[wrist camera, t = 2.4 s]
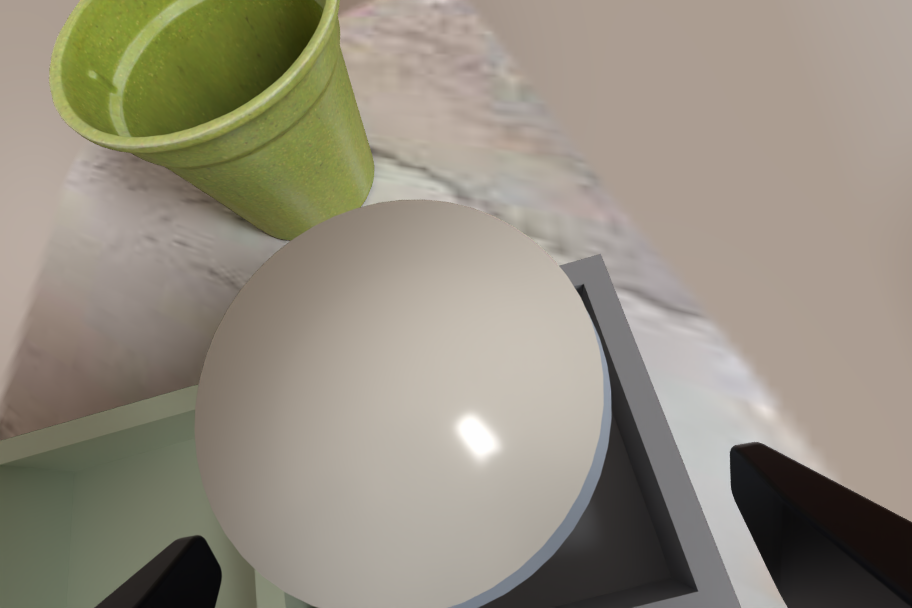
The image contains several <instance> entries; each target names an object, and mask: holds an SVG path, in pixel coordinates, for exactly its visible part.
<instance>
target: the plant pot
mask: <svg viewBox="0 0 912 608" xmlns="http://www.w3.org/2000/svg"><path fill="white" fill-rule="evenodd" d="M339 2H340V0H80V2H79V3H78V4H77V6H76V7H75V9H74V10H73V11H72V13H71V14H70V15H69V17H68V19H67V21H66V23H65V24H64V26H63V28H62V29H61V31H60V33H59V35H58V37H57V39H56V43H55V45H54V48H53V52H52V56H51V64H50V70H49V71H50V76H49V84H50V89H51V93H52V99H53V103H54V106H55V107H56V109H57V111H58V113H59V114H60V116H61V117H62V119H63V120H64V121H65V122H66V123H67V124H68V125H69V126H70V127H71V128H72V129H73V130H75V131H76V132H77V133H79V134H80V135H81V136H82V137H84V138H86V139H87V140H89V141H91V142H93V143H95V144H97V145H100V146H102V147H105V148H108V149H112V150H116V151H121V152H128V153H132V154H134V155H135V156H137V157H139V158H141V159H143V160H145V161H148V162H151V163H154V164H157V165H161V166H164V167H166V168H168V169H169V170H171V171H172V172H174V173H175V174H177V175H178V176H180V177H182V178H183V179H185V180H186V181H188V182H189V183H191V184H192V185H194V186H196V187H197V188H199V189H200V190H202V191H203V192H205V193H206V194H208V195H209V196H211V197H213V198H214V199H216V200H217V201H219V202H220V203H222V204H223V205H225V206H226V207H228V208H229V209H231V210H232V211H233V212H235V213H236V214H238V215H239V216H241V217H242V218H244V219H245V220H247V221H248V222H250V223H251V224H253V225H254V226H256V227H258V228H259V229H261V230H262V231H264V232H265V233H267V234H269V235H271V236H273V237H276V238H279V239H284V240H293V239H294V238H296V237H297V236H299V235H301V234H302V233H304V232H305V231H307V230H309V229H310V228H312V227H313V226H316V225H318V224H320V223H322V222H324V221H326V220H328V219H330V218H332V217H334V216H337V215H339V214H342V213H345V212H348V211H350V210H353V209H356V208H360V207H361V206H362V204H363V203H364V201H365V200H366V198H367V196H368V194H369V191H370V189H371V186H372V183H373V178H374V161H373V157H372V153H371V150H370V146H369V143H368V140H367V136H366V133H365V130H364V126H363V123H362V120H361V117H360V113H359V110H358V107H357V103H356V100H355V96H354V93H353V89H352V86H351V83H350V79H349V76H348V72H347V69H346V65H345V62H344V59H343V55H342V52H341V48H340V26H339V20H338V16H337V15H338V10H339Z"/></svg>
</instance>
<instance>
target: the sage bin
mask: <svg viewBox="0 0 912 608" xmlns="http://www.w3.org/2000/svg"><path fill="white" fill-rule="evenodd" d="M198 385H199V384H197V385H194V386H190V387H187V388H183V389H180V390H176V391H173V392H169V393H166V394H162V395H159V396H155V397H152V398H148V399H145V400H141V401H138V402H134V403H131V404H127V405H124V406H120V407H117V408H113V409H110V410H106V411H103V412H99V413H96V414H92V415H89V416H85V417H82V418H78V419H75V420H71V421H68V422H64V423H61V424H57V425H54V426H50V427H47V428H43V429H40V430H36V431H33V432H29V433H26V434H22V435H19V436H15V437H12V438H8V439H5V440H1V441H0V608H94V607H96V606H97V605H98V604H99V603H100V602H101V601H103V600H104V599H105V598H106V597H107V596H109V595H110V594H111V593H112V592H113V591H115V590H116V589H117V588H118V587H119V586H121V585H122V584H123V583H124V582H125V581H127V580H128V579H129V578H130V577H131V576H133V575H134V574H135V573H136V572H137V571H139V570H140V569H141V568H142V567H143V566H145V565H146V564H147V563H148V562H149V561H151V560H152V559H153V558H154V557H155V556H157V555H158V554H159V553H160V552H161V551H162V550H164V549H165V548H166V547H167V546H168V545H170V544H171V543H172V542H173V541H175V540H176V539H179V538H182V537H188V536H194V535H201V536H202V537H204V538H205V539H206V541H207V543H208V545H209V546H210V548H211V550H212V552H213V554H214V555H215V557H216V559H217V561H218V563H219V565H220V567H221V571H222V581H221V586H220V590H219V594H218V598H217V602H216V606H215V608H318V607H315V606H312V605H310V604H308V603H306V602H304V601H302V600H300V599H297V598H295V597H293V596H291V595H289V594H287V593H285V592H284V591H283V590H281V589H280V588H278V587H277V586H276V585H274V584H273V583H271V582H270V581H269V580H267V579H266V578H264V577H263V576H262V575H261V574H260V573H259V572H258V571H257V570H256V569H255V568H253V567H252V566H251V565H250V564H249V563H248V562H247V561H246V560H245V559H244V558H243V557H242V556H241V554H240V553H239V552H238V550H237V549H236V548H235V546H234V545H233V544H232V542H231V541H230V540H229V538H228V537H227V536H226V534H225V533H224V531H223V529H222V527H221V525H220V523H219V522H218V520H217V518H216V516H215V514H214V512H213V511H212V508H211V505H210V503H209V500H208V497H207V495H206V492H205V489H204V487H203V483H202V479H201V475H200V470H199V466H198V461H197V454H196V444H195V405H196V399H197V392H198Z"/></svg>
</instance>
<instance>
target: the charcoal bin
mask: <svg viewBox="0 0 912 608" xmlns="http://www.w3.org/2000/svg"><path fill="white" fill-rule="evenodd" d="M559 267H560V268H561V269H562V270H563V271H564V273H565V274H566V275H567V276H568V278H569V280H570V281H571V283H572V284H573V286H574V288H575V289H576V291H577V292H578V294H579V296H580V297H581V299H582V301H583V304H584V306H585V308H586V310H587V312H588V313H589V315H590V318H591V320H592V322H593V324H594V327H595V329H596V331H597V333H598V336H599V338H600V341H601V345H602V348H603V351H604V355H605V358H606V362H607V367H608V373H609V380H610V387H611V426H610V434H609V442H608V449H607V452H606V456H605V460H604V464H603V467H602V471H601V475H600V478H599V480H598V482H597V485H596V487H595V490H594V492H593V494H592V497H591V499H590V502H589V504H588V506H587V507H586V509H585V511H584V512H583V514H582V516H581V517H580V519H579V521H578V523H577V524H576V526H575V528H574V529H573V531H572V532H571V533H570V535H569V536H568V537H567V538H566V540H565V541H564V542H563V543H562V545H561V546H560V547H559V548H558V550H557V551H556V552H555V553H554V555H553V556H551V557H550V558H549V559H548V560H547V561H546V562H545V563H544V564H543V565H542V566H541V567H540V568H539V569H538V570H537V571H536V572H535V573H534V574H532V575H531V576H530V577H529V578H527V579H526V580H524V581H523V582H522V583H520V584H519V585H517V586H516V587H514V588H513V589H512V590H510V591H509V592H507V593H506V594H504V595H502V596H500V597H498V598H496V599H494V600H492V601H490V602H488V603H486V604H484V605H482V606H480V607H478V608H741V606H740V604H739V601H738V599H737V596H736V594H735V591H734V589H733V586H732V584H731V581H730V579H729V576H728V574H727V571H726V569H725V566H724V564H723V561H722V559H721V556H720V554H719V551H718V548H717V546H716V543H715V541H714V538H713V536H712V533H711V531H710V528H709V526H708V523H707V521H706V518H705V516H704V513H703V511H702V508H701V506H700V503H699V501H698V498H697V496H696V493H695V491H694V488H693V486H692V483H691V480H690V478H689V475H688V473H687V470H686V468H685V465H684V463H683V460H682V458H681V455H680V453H679V450H678V448H677V445H676V443H675V440H674V438H673V435H672V433H671V430H670V428H669V425H668V423H667V420H666V418H665V415H664V412H663V410H662V407H661V405H660V402H659V400H658V397H657V395H656V392H655V390H654V387H653V385H652V382H651V380H650V377H649V375H648V372H647V370H646V367H645V365H644V362H643V360H642V357H641V355H640V352H639V350H638V347H637V344H636V342H635V339H634V337H633V334H632V332H631V329H630V327H629V324H628V322H627V319H626V317H625V314H624V312H623V309H622V307H621V304H620V302H619V299H618V297H617V294H616V292H615V289H614V287H613V284H612V282H611V279H610V276H609V274H608V271H607V269H606V266H605V264H604V261H603V259H602V256H601V254H599V255H595V256H592V257H588V258H585V259H581V260H578V261H574V262H571V263H567V264H564V265H560V266H559Z"/></svg>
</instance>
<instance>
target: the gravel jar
mask: <svg viewBox="0 0 912 608" xmlns="http://www.w3.org/2000/svg"><path fill="white" fill-rule="evenodd" d="M610 426H611V387H610V380H609V373H608V367H607V362H606V358H605V355H604V351H603V348H602V345H601V341H600V338H599V336H598V333H597V331H596V329H595V327H594V324H593V322H592V320H591V318H590V315H589V313H588V312H587V310H586V308H585V306H584V304H583V301H582V299H581V297H580V296H579V294H578V292H577V291H576V289H575V288H574V286H573V284H572V283H571V281H570V280H569V278H568V276H567V275H566V274H565V273H564V271H563V270H562V269H561V268H560V267H559V265H558V264H557V263H556V262H555V261H554V259H553V258H552V257H551V256H550V255H549V254H548V253H547V252H546V251H545V250H543V249H542V248H541V247H540V246H539V245H538V244H537V243H536V242H535V241H534V240H532V239H531V238H529V237H528V236H527V235H525V234H524V233H522V232H521V231H519V230H518V229H517V228H515V227H514V226H512V225H510V224H508V223H506V222H504V221H502V220H500V219H498V218H496V217H495V216H493V215H490V214H487V213H484V212H482V211H479V210H476V209H474V208H471V207H467V206H462V205H458V204H454V203H449V202H442V201H432V200H398V201H390V202H382V203H376V204H372V205H368V206H364V207H360V208H356V209H353V210H350V211H348V212H345V213H342V214H339V215H337V216H334V217H332V218H330V219H328V220H326V221H324V222H322V223H320V224H318V225H316V226H313V227H312V228H310V229H309V230H307V231H305V232H304V233H302V234H301V235H299V236H297V237H296V238H294V239H293V240H291V241H290V242H289V243H288V244H286V245H285V246H284V247H282V248H281V249H280V250H279V251H277V252H276V253H275V254H274V255H273V256H272V257H271V258H269V259H268V260H267V261H266V262H265V263H264V264H263V265H262V266H261V267H260V268H259V269H258V270H257V271H256V272H255V273H254V275H253V276H252V277H251V278H250V279H249V281H248V282H247V283H246V284H245V285H244V287H243V288H242V289H241V290H240V292H239V293H238V295H237V296H236V298H235V299H234V301H233V302H232V304H231V305H230V307H229V308H228V310H227V311H226V313H225V315H224V317H223V319H222V321H221V323H220V324H219V326H218V328H217V330H216V332H215V334H214V337H213V339H212V342H211V345H210V347H209V350H208V352H207V355H206V358H205V361H204V365H203V369H202V372H201V376H200V380H199V385H198V392H197V399H196V405H195V444H196V454H197V461H198V466H199V470H200V475H201V479H202V483H203V487H204V489H205V492H206V495H207V497H208V500H209V503H210V505H211V508H212V511H213V512H214V514H215V516H216V518H217V520H218V522H219V523H220V525H221V527H222V529H223V531H224V533H225V534H226V536H227V537H228V538H229V540H230V541H231V542H232V544H233V545H234V546H235V548H236V549H237V550H238V552H239V553H240V554H241V556H242V557H243V558H244V559H245V560H246V561H247V562H248V563H249V564H250V565H251V566H252V567H253V568H255V569H256V570H257V571H258V572H259V573H260V574H261V575H262V576H263V577H264V578H266V579H267V580H269V581H270V582H271V583H273V584H274V585H276V586H277V587H278V588H280V589H281V590H283V591H284V592H285V593H287V594H289V595H291V596H293V597H295V598H297V599H300V600H302V601H304V602H306V603H308V604H310V605H312V606H315V607H318V608H478V607H480V606H482V605H484V604H486V603H488V602H490V601H492V600H494V599H496V598H498V597H500V596H502V595H504V594H506V593H507V592H509V591H510V590H512V589H513V588H514V587H516V586H517V585H519V584H520V583H522V582H523V581H524V580H526V579H527V578H529V577H530V576H531V575H532V574H534V573H535V572H536V571H537V570H538V569H539V568H540V567H541V566H542V565H543V564H544V563H545V562H546V561H547V560H548V559H549V558H550V557H551V556H553V555H554V553H555V552H556V551H557V550H558V548H559V547H560V546H561V545H562V543H563V542H564V541H565V540H566V538H567V537H568V536H569V535H570V533H571V532H572V531H573V529H574V528H575V526H576V524H577V523H578V521H579V519H580V517H581V516H582V514H583V512H584V511H585V509H586V507H587V506H588V504H589V502H590V499H591V497H592V494H593V492H594V490H595V487H596V485H597V482H598V480H599V478H600V475H601V471H602V467H603V464H604V460H605V456H606V452H607V449H608V442H609V434H610Z"/></svg>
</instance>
